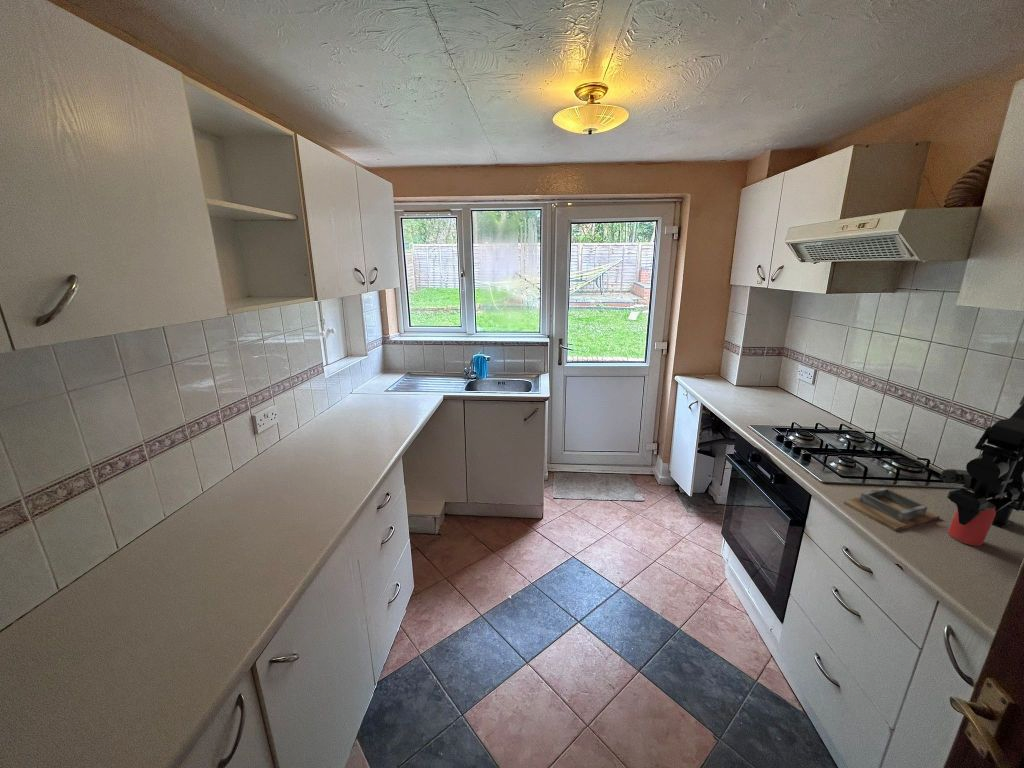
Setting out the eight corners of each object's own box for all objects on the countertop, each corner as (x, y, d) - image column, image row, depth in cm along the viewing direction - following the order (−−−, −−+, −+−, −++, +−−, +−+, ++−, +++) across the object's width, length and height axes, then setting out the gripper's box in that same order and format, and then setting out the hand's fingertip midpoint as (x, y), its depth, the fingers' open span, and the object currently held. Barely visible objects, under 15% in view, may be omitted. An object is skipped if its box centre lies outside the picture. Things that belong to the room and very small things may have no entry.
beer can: (962, 531, 114) (977, 495, 110) (989, 546, 108) (1006, 509, 104) (940, 531, 114) (955, 495, 110) (966, 547, 108) (982, 509, 104)
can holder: (885, 493, 132) (889, 482, 131) (939, 518, 120) (943, 507, 118) (843, 503, 126) (846, 492, 125) (895, 531, 114) (899, 519, 113)
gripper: (973, 452, 114) (954, 499, 119) (932, 461, 109) (914, 510, 114) (1031, 471, 104) (1008, 521, 109) (988, 482, 99) (966, 534, 104)
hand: (972, 521), depth 109 cm, fingers open, 9 cm apart
